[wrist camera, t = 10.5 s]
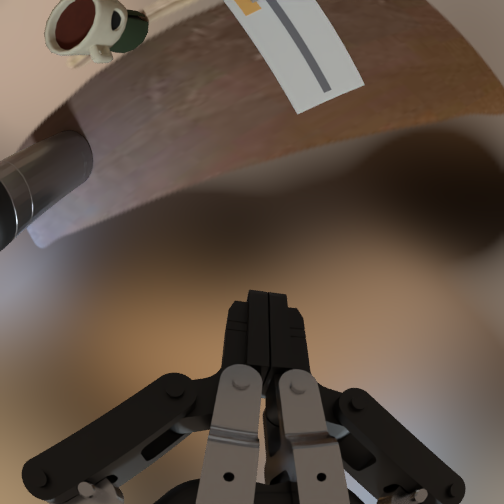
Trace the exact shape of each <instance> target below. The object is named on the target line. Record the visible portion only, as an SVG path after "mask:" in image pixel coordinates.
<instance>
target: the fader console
mask: <svg viewBox="0 0 504 504" xmlns="http://www.w3.org/2000/svg"><path fill="white" fill-rule="evenodd" d="M223 1H224V2H225V3H226V5H227V6H228V7H229V9H230V10H231V11H232V13H233V14H234V15H235V17H236V18H237V20H238V21H239V22H240V24H241V25H242V27H243V28H244V30H245V31H246V32H247V34H248V35H249V37H250V38H251V40H252V41H253V43H254V44H255V46H256V47H257V49H258V50H259V52H260V53H261V55H262V56H263V58H264V59H265V61H266V63H267V64H268V66H269V67H270V69H271V70H272V72H273V74H274V75H275V77H276V79H277V80H278V82H279V84H280V85H281V87H282V89H283V90H284V92H285V94H286V95H287V97H288V99H289V101H290V102H291V104H292V106H293V108H294V109H295V111H296V113H297V114H299V113H301V112H304V111H306V110H308V109H310V108H312V107H314V106H316V105H319V104H321V103H323V102H325V101H328V100H330V99H332V98H334V97H337V96H339V95H341V94H344V93H346V92H349V91H351V90H353V89H356V88H358V87H361V86H363V85H365V84H364V82H363V80H362V78H361V76H360V74H359V72H358V70H357V69H356V67H355V65H354V63H353V61H352V59H351V57H350V55H349V54H348V52H347V50H346V48H345V47H344V45H343V43H342V41H341V40H340V38H339V36H338V35H337V33H336V31H335V30H334V28H333V26H332V25H331V23H330V22H329V20H328V18H327V17H326V15H325V14H324V12H323V11H322V9H321V8H320V6H319V5H318V3H317V2H316V1H315V0H258V1H256V2H254V3H252V2H251V0H223Z"/></svg>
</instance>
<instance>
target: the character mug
mask: <svg viewBox="0 0 504 504" xmlns="http://www.w3.org/2000/svg"><path fill="white" fill-rule="evenodd" d="M138 16H143V17H145V15H143V14H142V13H140V12H138V11H133V10H126V8H125V7H124V6H123V5H122V4H121V3H120V2H119V1H118V0H61V1H60V2H59V3H58V5H57V6H56V7H55V8H54V9H53V10H52V12H51V14H50V16H49V18H48V20H47V23H46V28H45V33H44V36H45V43H46V46H47V47H48V48H49V50H50V51H51V52H52V53H55V54H57V55H62V56H65V55H90V56H91V58H92V60H93V62H95V63H109V62H111V61H112V60H113V56H112V53H111V51H112V52H117V53H126V52H128V51H131V50H133V49H135V48H136V47H137V46H139V45H140V44H141V43H142V42H143V41H144V39H145V37H146V35H147V33H148V22H146V21H143V20H142V19H141V18H139V17H138ZM100 53H102V54H100Z"/></svg>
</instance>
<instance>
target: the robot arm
mask: <svg viewBox="0 0 504 504" xmlns="http://www.w3.org/2000/svg"><path fill="white" fill-rule="evenodd" d="M92 162H93V160H92V153H91V149H90V147H89V145H88V143H87V141H86V140H85V139H84V138H83V137H82V136H81V135H80V134H79V133H77V132H74V131H64V132H61V133H58V134H56V135H54V136H51V137H49V138H46V139H44V140H42V141H40V142H37V143H35V144H33V145H31V146H29V147H27V148H25V149H23V150H21V151H19V152H17V153H15V154H13V155H11V156H9V157H7V158H5V159H3V160H2V161H0V251H1V250H3V249H4V248H5V247H6V246H7V245H8V244H9V243H10V242H11V241H12V240H13V239H15V238H16V237H17V236H18V235H19V234H20V233H21V232H22V231H23V230H25V229H26V228H27V227H28V226H29V225H30V224H31V223H32V222H34V221H35V220H36V219H37V218H38V217H40V216H41V215H42V214H43V213H44V212H46V211H47V210H48V209H49V208H51V207H52V206H53V205H54V204H56V203H57V202H58V201H59V200H61V199H62V198H63V197H65V196H66V195H67V194H69V193H70V192H71V191H73V190H74V189H75V188H77V187H78V186H80V185H81V184H82V183H84V182H85V181H86V180H87V178H88V177H89V175H90V173H91V170H92ZM304 329H305V328H304V321H303V317H302V316H301V314H300V312H299V311H298V310H297V308H289V307H288V305H287V296H286V294H279V293H271V292H268V293H267V292H263V291H256V290H249V293H248V297H247V302H241V301H235V302H234V303H233V304H232V306H231V307H230V308H229V311H228V318H227V324H226V330H225V338H224V347H223V357H222V366H221V369H220V370H219V371H218V372H217V373H216V374H215V375H213V376H211V377H208V378H203V379H197V380H191V379H190V378H189V377H187V376H186V375H183V374H180V373H168V374H165V375H163V376H161V377H160V378H158V379H157V380H156V381H154V382H152V383H151V384H149V385H148V386H147V387H145V388H144V389H142V390H141V391H139V392H138V393H136V394H135V395H133V396H132V397H130V398H129V399H127V400H126V401H124V402H123V403H121V404H120V405H118V406H117V407H115V408H113V409H112V410H110V411H109V412H108V413H106V414H104V415H103V416H101V417H100V418H98V419H97V420H95V421H93V422H92V423H90V424H89V425H87V426H85V427H84V428H82V429H81V430H79V431H77V432H76V433H74V434H72V435H71V436H69V437H68V438H66V439H64V440H62V441H61V442H59V443H58V444H56V445H54V446H52V447H51V448H49V449H47V450H46V451H44V452H42V453H40V454H39V455H37V456H35V457H33V458H32V459H30V460H29V461H27V462H26V463H25V464H24V467H23V469H22V479H23V483H24V485H25V487H26V488H27V490H28V491H29V492H30V493H31V494H32V495H33V496H35V497H37V498H39V499H41V500H44V501H47V502H48V503H50V504H124V496H123V493H122V491H121V490H120V489H119V486H121V485H123V484H124V483H126V482H127V481H128V480H130V479H131V478H133V477H134V476H136V475H137V474H138V473H140V472H141V471H143V470H144V469H145V468H147V467H148V466H150V465H151V464H152V463H154V462H155V461H156V460H158V459H159V458H160V457H162V456H163V455H164V454H166V453H167V452H168V451H169V450H171V449H172V448H173V447H175V446H176V445H177V444H178V443H180V442H181V441H182V440H184V439H185V438H186V437H187V436H188V435H190V434H191V433H192V432H197V431H203V430H209V429H210V432H209V436H208V442H207V446H206V452H205V457H204V462H203V467H202V473H201V478H200V479H195V480H190V481H187V482H184V483H182V484H180V485H177V486H176V487H174V488H173V489H171V490H170V491H168V492H167V493H166V494H165V495H163V496H162V497H161V498H160V499H159V500H158V501H156V502H155V503H154V504H364V502H362V501H361V500H360V499H359V498H358V497H357V496H356V495H355V494H354V493H353V492H352V491H351V490H349V489H348V488H347V484H346V479H345V474H344V469H345V470H346V471H347V472H348V473H349V474H350V475H351V476H352V477H353V478H354V479H355V480H356V481H357V482H358V483H359V484H360V485H362V486H363V487H364V488H365V489H366V490H367V491H368V492H369V493H370V494H372V495H373V496H374V497H375V498H376V499H377V500H378V501H377V504H459V503H460V502H461V501H462V499H463V497H464V494H465V484H464V481H463V479H462V478H461V477H460V476H459V475H458V474H456V473H455V472H454V471H453V470H452V469H451V468H450V467H448V466H447V465H446V464H445V463H444V462H443V461H441V459H439V458H438V457H437V456H436V455H435V454H434V453H433V452H432V451H430V450H429V449H428V448H427V447H426V446H425V445H424V444H423V443H422V442H420V441H419V440H418V439H417V438H416V437H415V436H414V435H413V434H412V433H410V432H409V431H408V430H407V429H406V428H405V427H404V426H403V425H402V424H401V423H400V422H398V421H397V420H396V419H395V418H394V417H393V416H392V415H391V414H390V413H389V412H388V411H387V410H385V409H384V408H383V407H382V406H381V405H380V404H379V403H378V402H377V401H376V400H375V399H374V398H372V397H371V396H370V395H369V394H368V393H367V392H366V391H364V390H362V389H359V388H350V389H347V390H345V391H344V392H343V393H341V392H338V391H334V390H331V389H328V388H326V387H323V386H322V385H320V384H319V383H317V381H316V379H315V378H314V377H313V376H312V374H311V372H310V366H309V358H308V350H307V343H306V339H305V338H306V335H305V331H304ZM261 398H266V408H265V410H264V412H263V425H264V436H265V437H264V438H265V450H266V463H265V468H264V478H265V484H262V483H257V482H256V476H257V466H258V457H259V439H258V424H259V413H260V404H261Z"/></svg>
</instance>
